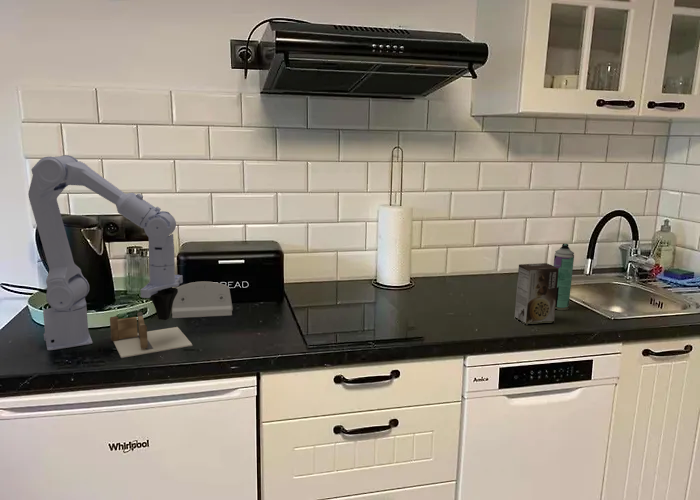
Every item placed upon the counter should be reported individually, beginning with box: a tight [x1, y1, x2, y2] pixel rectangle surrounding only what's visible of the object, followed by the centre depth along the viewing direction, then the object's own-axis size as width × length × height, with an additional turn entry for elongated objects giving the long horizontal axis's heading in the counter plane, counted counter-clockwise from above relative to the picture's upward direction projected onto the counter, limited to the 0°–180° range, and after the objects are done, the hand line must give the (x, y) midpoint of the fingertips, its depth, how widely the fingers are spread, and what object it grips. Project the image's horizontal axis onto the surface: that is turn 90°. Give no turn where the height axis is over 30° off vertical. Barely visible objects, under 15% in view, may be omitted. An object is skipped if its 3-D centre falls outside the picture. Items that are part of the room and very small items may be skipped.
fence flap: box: [137, 311, 148, 349], centre depth 132 cm, size 11×2×6 cm, turn 24°
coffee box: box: [514, 262, 559, 323], centre depth 155 cm, size 9×6×16 cm
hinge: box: [171, 280, 234, 319], centre depth 157 cm, size 17×5×10 cm, turn 103°
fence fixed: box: [109, 316, 138, 342], centre depth 135 cm, size 6×2×6 cm, turn 121°
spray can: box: [553, 243, 575, 308], centre depth 168 cm, size 6×6×20 cm
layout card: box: [112, 326, 193, 359], centre depth 134 cm, size 16×14×1 cm
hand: (163, 318), depth 133 cm, fingers closed
